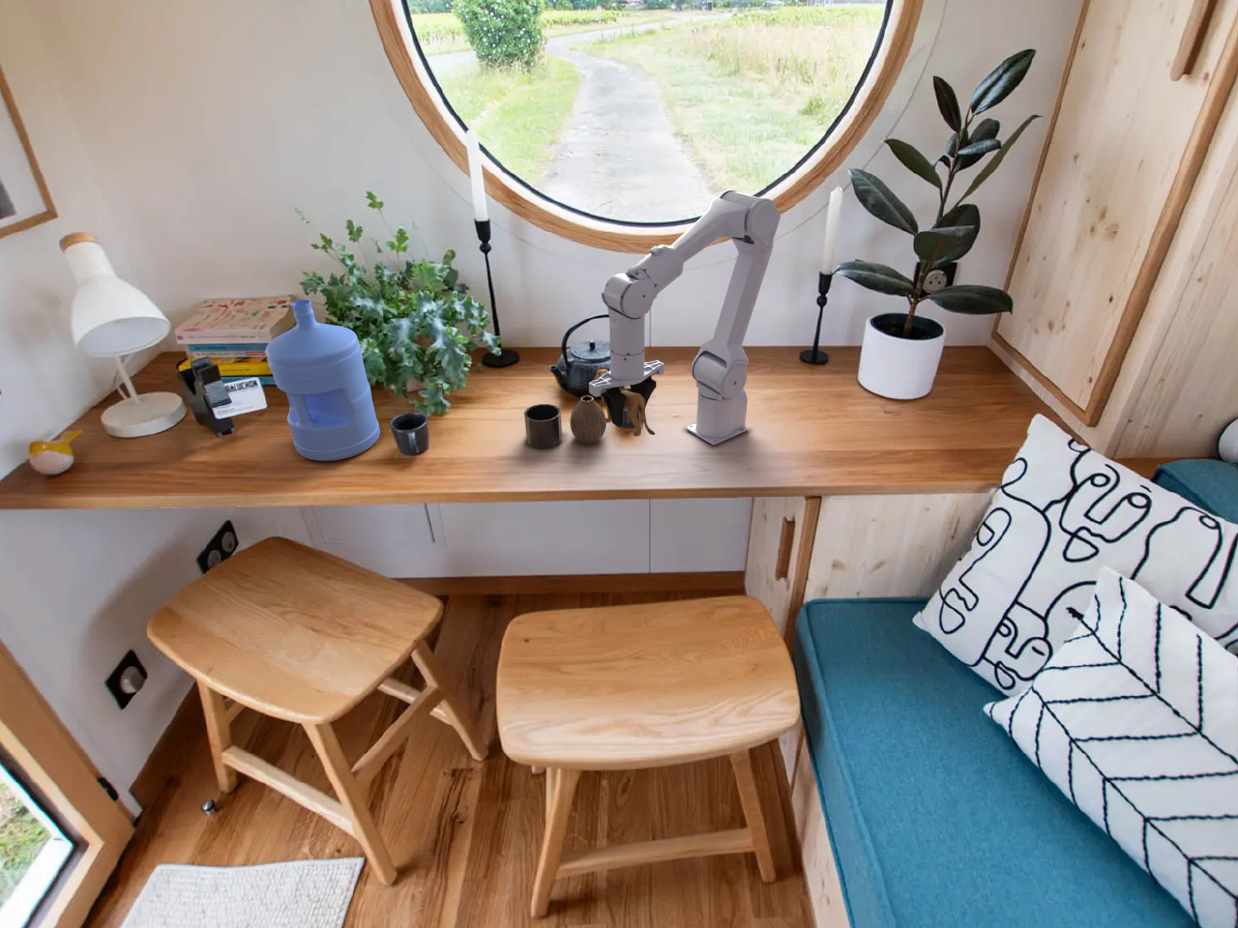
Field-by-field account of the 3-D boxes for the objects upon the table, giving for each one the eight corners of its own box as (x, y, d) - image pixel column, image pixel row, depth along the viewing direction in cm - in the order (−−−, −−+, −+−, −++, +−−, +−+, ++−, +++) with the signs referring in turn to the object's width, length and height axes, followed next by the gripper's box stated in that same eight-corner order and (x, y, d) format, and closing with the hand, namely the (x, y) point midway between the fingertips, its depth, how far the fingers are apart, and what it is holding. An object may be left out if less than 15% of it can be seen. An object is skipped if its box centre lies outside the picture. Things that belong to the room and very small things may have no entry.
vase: (594, 451, 129) (592, 410, 124) (564, 441, 132) (561, 401, 127) (613, 435, 134) (612, 395, 129) (583, 426, 137) (582, 387, 132)
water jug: (333, 416, 141) (296, 284, 126) (397, 428, 137) (367, 293, 121) (278, 454, 129) (229, 313, 114) (346, 469, 125) (305, 324, 109)
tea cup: (549, 427, 137) (547, 400, 133) (569, 441, 132) (567, 414, 129) (520, 437, 133) (517, 410, 130) (538, 452, 129) (536, 425, 125)
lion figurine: (583, 417, 123) (585, 369, 120) (603, 411, 127) (606, 364, 124) (645, 441, 115) (650, 389, 111) (664, 434, 118) (670, 384, 115)
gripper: (646, 331, 119) (645, 400, 127) (577, 352, 112) (580, 423, 119) (672, 343, 114) (670, 414, 122) (602, 366, 107) (604, 440, 115)
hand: (627, 420), depth 120 cm, fingers closed on lion figurine, 4 cm apart
